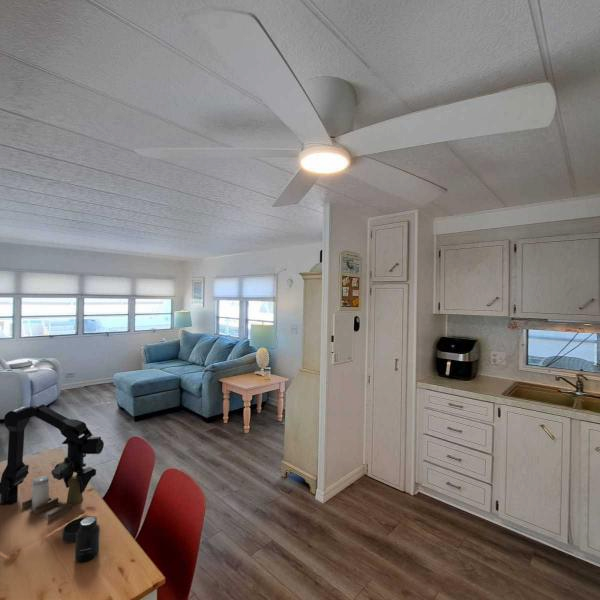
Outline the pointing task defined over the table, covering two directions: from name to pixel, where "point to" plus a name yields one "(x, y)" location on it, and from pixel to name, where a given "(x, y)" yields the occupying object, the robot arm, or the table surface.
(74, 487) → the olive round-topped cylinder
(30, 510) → the walnut slot rack
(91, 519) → the supplement bottle
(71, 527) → the black round bowl
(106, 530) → the table surface
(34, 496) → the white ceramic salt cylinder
